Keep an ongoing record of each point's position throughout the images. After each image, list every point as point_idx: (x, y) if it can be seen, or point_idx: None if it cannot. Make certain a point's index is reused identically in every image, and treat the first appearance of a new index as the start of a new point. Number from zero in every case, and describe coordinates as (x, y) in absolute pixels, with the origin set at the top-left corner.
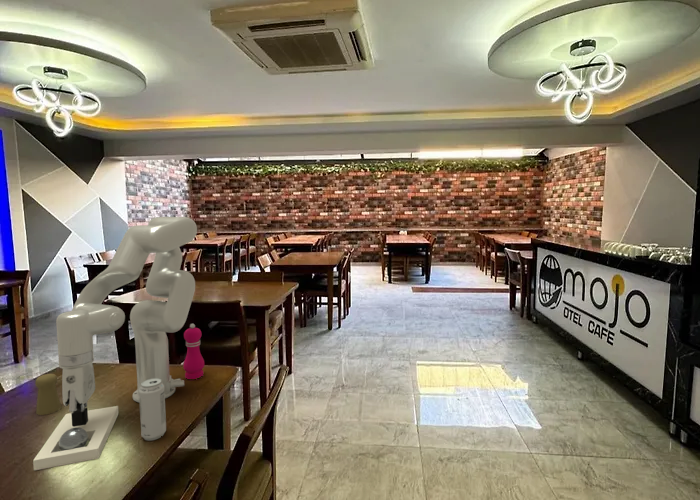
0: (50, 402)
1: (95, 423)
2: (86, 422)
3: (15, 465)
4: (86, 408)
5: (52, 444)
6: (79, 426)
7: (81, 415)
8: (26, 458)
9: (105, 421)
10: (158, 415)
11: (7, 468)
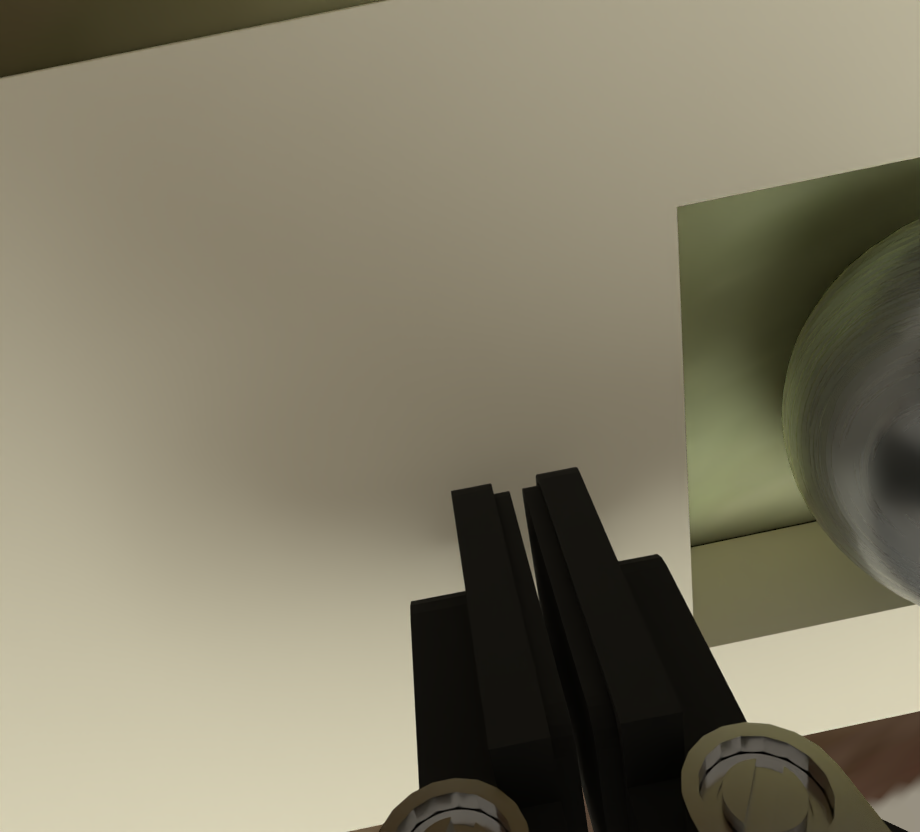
0: None
1: (397, 337)
2: (562, 480)
3: (892, 751)
4: (547, 744)
5: (904, 643)
6: (458, 558)
7: (717, 675)
8: (803, 735)
9: (335, 151)
10: None
11: (913, 778)
